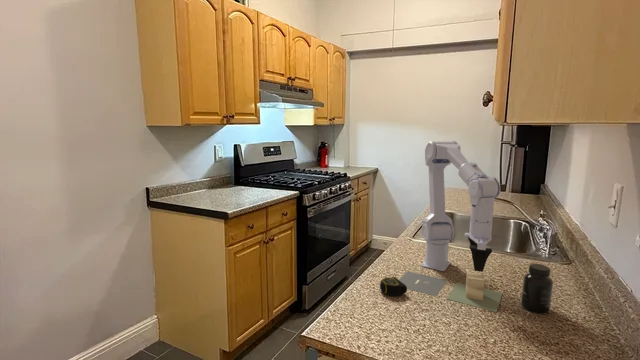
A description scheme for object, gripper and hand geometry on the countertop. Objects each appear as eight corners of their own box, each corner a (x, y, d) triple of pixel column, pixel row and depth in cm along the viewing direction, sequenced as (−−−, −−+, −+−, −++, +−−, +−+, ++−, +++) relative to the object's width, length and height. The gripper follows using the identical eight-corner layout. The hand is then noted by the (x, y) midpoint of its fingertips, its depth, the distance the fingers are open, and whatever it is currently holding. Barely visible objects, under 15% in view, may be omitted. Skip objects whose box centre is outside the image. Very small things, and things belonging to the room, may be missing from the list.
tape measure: (407, 296, 104) (408, 284, 103) (386, 299, 102) (387, 287, 101) (395, 286, 110) (396, 275, 110) (375, 289, 108) (376, 277, 108)
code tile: (407, 271, 122) (407, 271, 121) (447, 280, 115) (447, 280, 115) (393, 285, 111) (393, 285, 111) (436, 296, 104) (436, 296, 104)
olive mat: (456, 282, 113) (456, 282, 113) (502, 293, 106) (502, 293, 106) (446, 299, 102) (446, 298, 102) (496, 312, 95) (496, 311, 95)
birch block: (465, 291, 107) (466, 272, 106) (481, 293, 105) (483, 274, 105) (466, 297, 103) (467, 278, 102) (482, 300, 101) (484, 280, 100)
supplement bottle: (515, 304, 100) (519, 263, 98) (531, 300, 102) (536, 260, 100) (538, 316, 93) (543, 273, 91) (555, 311, 96) (560, 269, 94)
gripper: (464, 212, 109) (461, 255, 111) (467, 225, 95) (463, 273, 97) (490, 215, 106) (486, 258, 108) (496, 228, 93) (491, 277, 95)
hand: (477, 265), depth 103 cm, fingers open, 7 cm apart
